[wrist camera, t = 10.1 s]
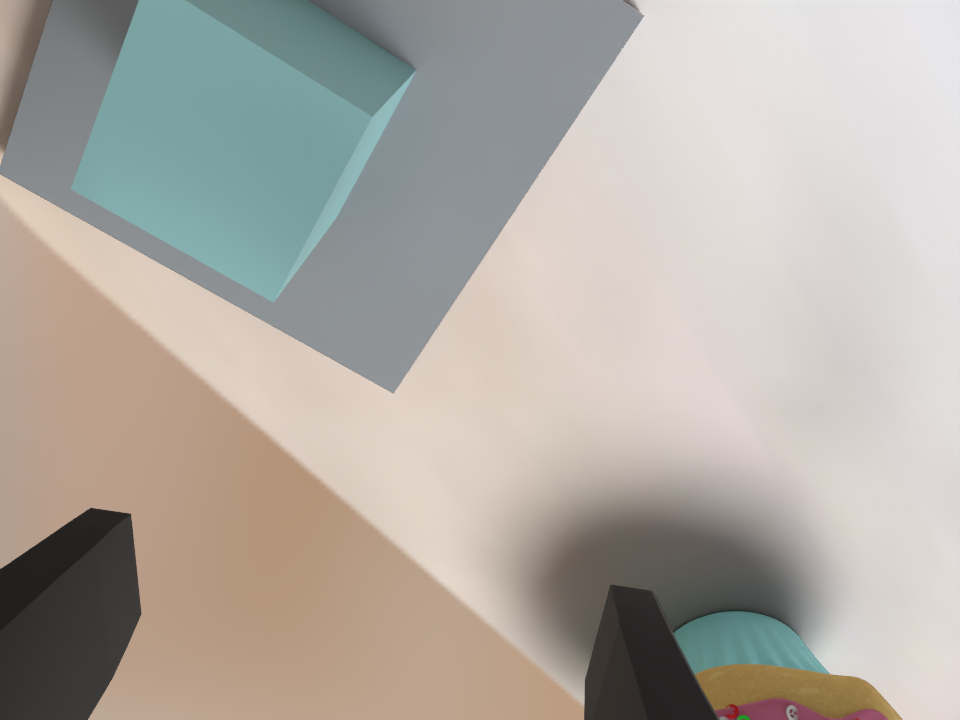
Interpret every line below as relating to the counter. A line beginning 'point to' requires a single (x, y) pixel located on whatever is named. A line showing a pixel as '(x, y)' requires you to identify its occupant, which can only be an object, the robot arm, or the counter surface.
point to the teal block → (239, 130)
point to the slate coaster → (387, 173)
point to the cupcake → (770, 673)
